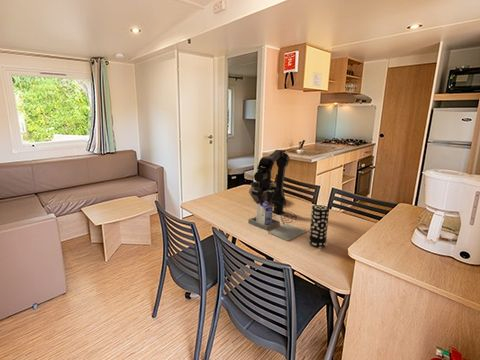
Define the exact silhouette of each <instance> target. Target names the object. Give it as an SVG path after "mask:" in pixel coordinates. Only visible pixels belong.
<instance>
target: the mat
mask: <svg viewBox="0 0 480 360" xmlns="http://www.w3.org/2000/svg"><path fill="white" fill-rule="evenodd" d="M307 232H308V231H307V230H305V229H303V228H300V227H297V226H294V225H291V224H288V223H286V224H284V225H281V226H279V227H275V229H274V228H273V229H271V230H268V232H267V234H269V235H271V236H274V237H277V238H279V239H280V240H281V239H282V240H283V241H286V242H290V241H292V240H294V239H297V238H298V237H300V236H302V235H304V234H306V233H307Z"/></svg>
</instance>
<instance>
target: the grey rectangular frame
mask: <svg viewBox="0 0 480 360" xmlns="http://www.w3.org/2000/svg"><path fill="white" fill-rule="evenodd" d="M247 223H248V224H249V225H251V226H254V227H256V228H259V229H261V230H264V231H271V230H273V229H274V228H278V226H279V227H280V225H281V221H280V220H276V219H275V218H274V219H273V218H272V224H270V225H267V226H266V225H264V224H261V223H259V222H256V216H254V217H252V218H248V222H247Z"/></svg>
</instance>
